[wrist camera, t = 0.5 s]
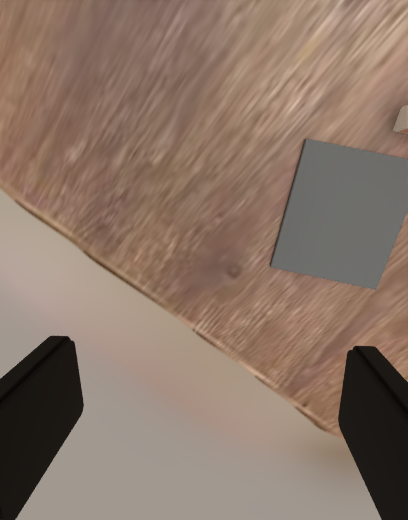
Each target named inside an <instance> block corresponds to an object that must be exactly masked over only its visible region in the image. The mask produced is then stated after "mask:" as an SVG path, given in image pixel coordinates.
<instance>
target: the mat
mask: <svg viewBox="0 0 408 520" xmlns="http://www.w3.org/2000/svg"><path fill="white" fill-rule="evenodd" d="M407 211H408V159H404V158H399V157H394V156H389V155H385V154H380V153H375V152H370V151H365V150H360V149H355V148H350V147H345V146H340V145H335V144H330V143H326V142H321V141H316V140H311V139H305V141H304V145H303V148H302V152H301V156H300V159H299V163H298V166H297V170H296V174H295V177H294V181H293V184H292V188H291V192H290V195H289V199H288V202H287V206H286V210H285V213H284V217H283V221H282V224H281V228H280V231H279V235H278V239H277V242H276V246H275V249H274V253H273V257H272V260H271V264H270V266H271V267H272V268H277V269H282V270H286V271H291V272H296V273H300V274H305V275H310V276H314V277H319V278H324V279H328V280H333V281H338V282H342V283H347V284H352V285H356V286H361V287H366V288H370V289H375V290H376V289H377V286H378V284H379V281H380V279H381V276H382V274H383V271H384V269H385V266H386V264H387V261H388V259H389V256H390V254H391V251H392V248H393V246H394V243H395V241H396V238H397V236H398V233H399V231H400V228H401V226H402V223H403V221H404V218H405V216H406V213H407Z"/></svg>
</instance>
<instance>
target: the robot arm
mask: <svg viewBox="0 0 408 520" xmlns="http://www.w3.org/2000/svg"><path fill="white" fill-rule="evenodd" d="M83 406H84V404H83V397H82V389H81V382H80V376H79V369H78V362H77V355H76V348H75V343H74V341H71V340H70V338H69V337H68V336H50V337H48V338H47V339H46V340H45V341H44V342H43V343H41V344H40V345H39V346H38V347H37V348H36V349H34V350H33V351H32V352H31V353H30V354H29V355H28V356H26V357H25V358H24V359H23V360H22V361H21V362H19V363H18V364H17V365H16V366H15V367H14V368H12V369H11V370H10V371H9V372H8V373H7V374H6V375H4V376H3V377H2V378H1V379H0V520H15V519H16V518H17V516H18V514H19V513H20V511H21V510H22V508H23V507H24V505H25V503H26V502H27V500H28V499H29V497H30V495H31V494H32V492H33V491H34V489H35V487H36V486H37V484H38V483H39V481H40V480H41V478H42V476H43V475H44V473H45V472H46V470H47V468H48V467H49V465H50V464H51V462H52V460H53V459H54V457H55V456H56V454H57V452H58V451H59V449H60V447H61V446H62V445H63V443H64V441H65V440H66V438H67V437H68V435H69V433H70V432H71V430H72V429H73V427H74V426H75V424H76V422H77V421H78V419H79V418H80V416H81V414H82V411H83ZM338 421H339V426H340V430H341V432H342V434H343V436H344V439H345V441H346V443H347V445H348V447H349V449H350V452H351V454H352V456H353V457H354V460H355V462H356V465H357V467H358V469H359V471H360V473H361V476H362V478H363V480H364V482H365V484H366V486H367V489H368V491H369V493H370V495H371V497H372V499H373V502H374V503H375V506H376V508H377V510H378V512H379V514H380V517H381V519H382V520H408V382H407V381H406V380H405V379H404V378H403V377H402V376H401V375H400V373H399V372H398V371H397V370H396V369H395V368H394V367H393V366H392V365H391V364H390V362H389V361H388V360H387V359H386V358H385V357H384V356H383V355H382V354H381V352H380V351H379V350H378V349H377V348H376V347H373V346H355V347H354V348H353V350H349V351H348V353H347V359H346V366H345V373H344V381H343V388H342V395H341V402H340V409H339V417H338Z"/></svg>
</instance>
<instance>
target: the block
mask: <svg viewBox="0 0 408 520" xmlns="http://www.w3.org/2000/svg"><path fill="white" fill-rule="evenodd" d="M393 131H395V132H400V133H405V134H408V105H406V106H403V107H401V109H400V112H399V114H398V117H397V120H396V123H395V126H394V128H393Z"/></svg>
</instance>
